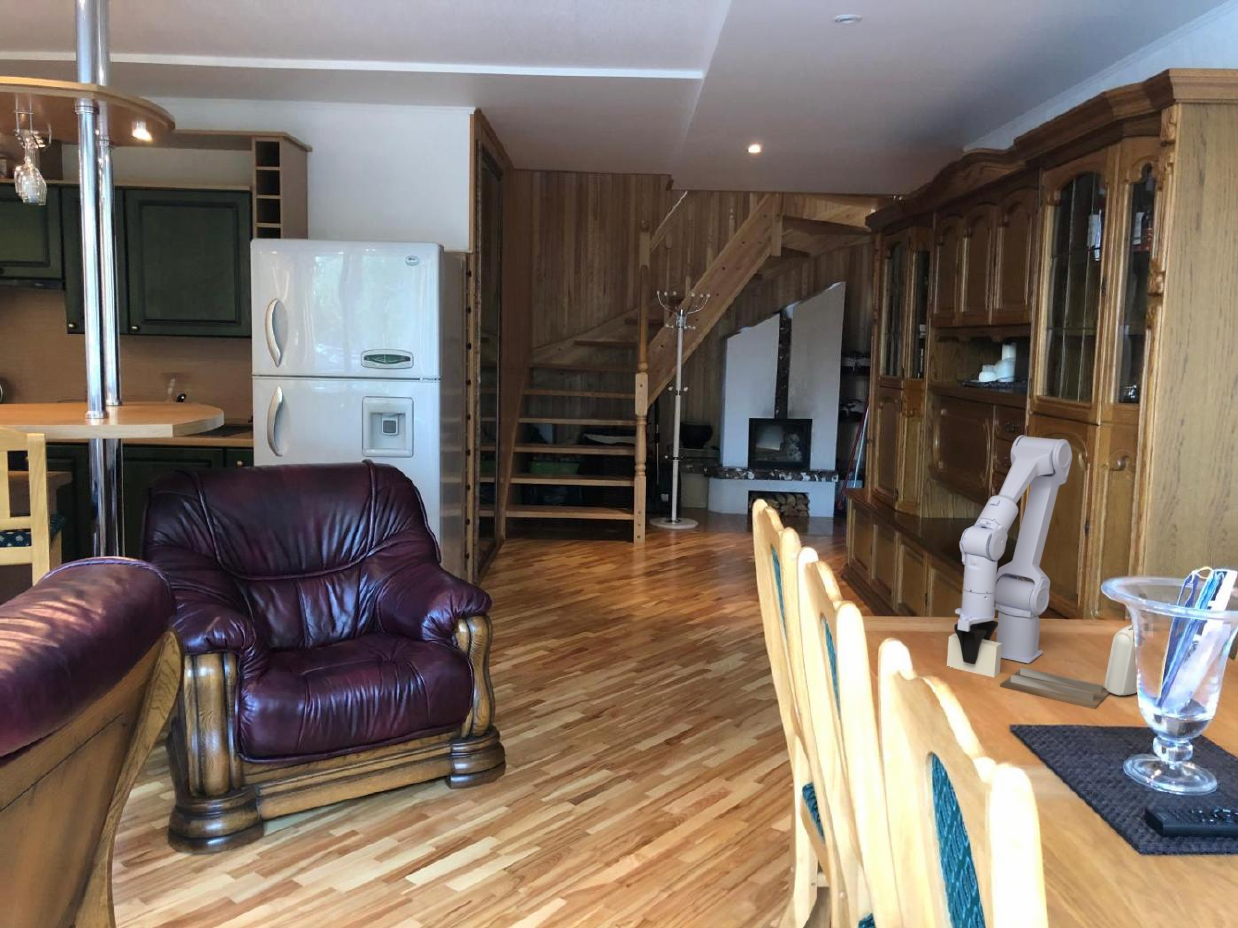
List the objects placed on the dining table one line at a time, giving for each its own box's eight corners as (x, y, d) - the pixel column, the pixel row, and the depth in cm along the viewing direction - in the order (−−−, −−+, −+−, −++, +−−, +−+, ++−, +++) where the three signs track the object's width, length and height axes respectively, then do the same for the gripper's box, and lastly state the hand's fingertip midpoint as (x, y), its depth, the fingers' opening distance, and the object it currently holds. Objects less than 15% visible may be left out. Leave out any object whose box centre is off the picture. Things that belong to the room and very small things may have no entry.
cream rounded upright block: (1130, 681, 181) (1142, 617, 179) (1153, 690, 178) (1166, 625, 176) (1099, 689, 176) (1111, 623, 173) (1122, 698, 172) (1135, 631, 170)
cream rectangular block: (952, 663, 190) (954, 633, 189) (999, 673, 184) (1001, 643, 184) (946, 666, 188) (948, 636, 187) (994, 677, 182) (996, 646, 181)
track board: (1020, 670, 186) (1021, 662, 186) (1112, 691, 176) (1112, 682, 176) (999, 686, 177) (1000, 677, 177) (1094, 708, 167) (1095, 699, 167)
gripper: (971, 580, 192) (966, 647, 194) (943, 593, 181) (938, 663, 183) (1008, 586, 188) (1002, 654, 190) (981, 600, 177) (976, 672, 178)
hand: (973, 659), depth 186 cm, fingers open, 4 cm apart
